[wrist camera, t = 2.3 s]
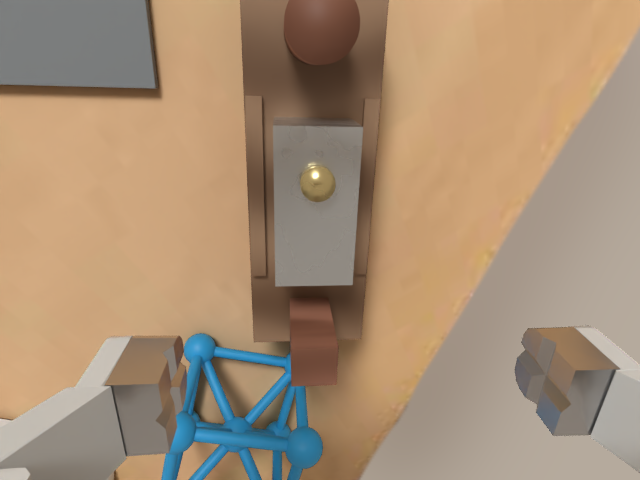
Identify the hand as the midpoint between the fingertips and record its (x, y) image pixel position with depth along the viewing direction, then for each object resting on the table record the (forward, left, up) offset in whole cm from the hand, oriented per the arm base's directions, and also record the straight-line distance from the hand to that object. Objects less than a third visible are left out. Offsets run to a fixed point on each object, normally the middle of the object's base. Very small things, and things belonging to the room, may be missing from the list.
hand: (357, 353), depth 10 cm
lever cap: (0, 0, -14) cm, 14 cm away
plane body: (0, 0, -19) cm, 19 cm away
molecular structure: (-18, +5, -20) cm, 27 cm away
